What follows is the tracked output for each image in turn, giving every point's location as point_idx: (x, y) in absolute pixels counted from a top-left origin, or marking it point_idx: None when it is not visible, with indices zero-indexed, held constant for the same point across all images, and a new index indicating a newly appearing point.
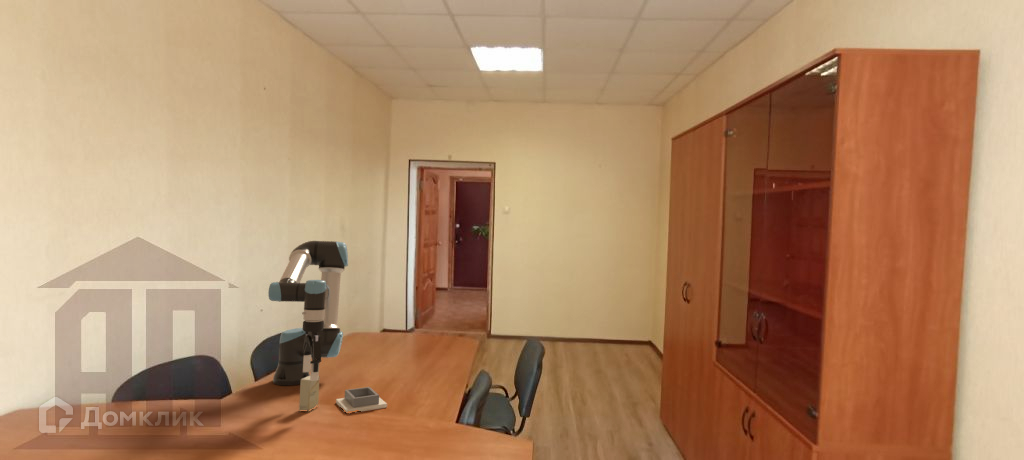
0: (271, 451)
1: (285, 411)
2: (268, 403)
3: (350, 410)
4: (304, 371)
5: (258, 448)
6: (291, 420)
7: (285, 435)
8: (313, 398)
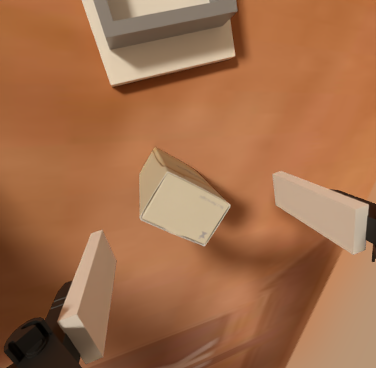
0: None
1: None
2: None
3: (231, 39)
4: (112, 258)
5: None
6: (236, 201)
7: None
8: (185, 167)
